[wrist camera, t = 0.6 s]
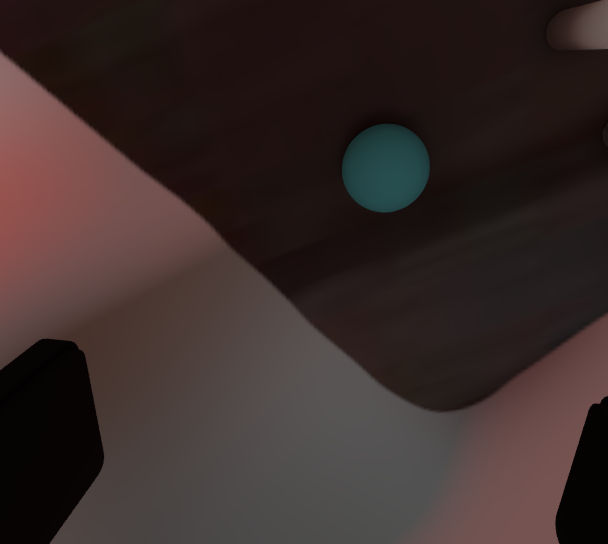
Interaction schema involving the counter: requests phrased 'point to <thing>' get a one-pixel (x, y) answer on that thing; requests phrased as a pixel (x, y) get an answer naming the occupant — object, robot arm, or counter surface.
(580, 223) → the counter surface
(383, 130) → the ball
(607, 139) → the grey pin
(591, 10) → the cream pin
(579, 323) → the counter surface
